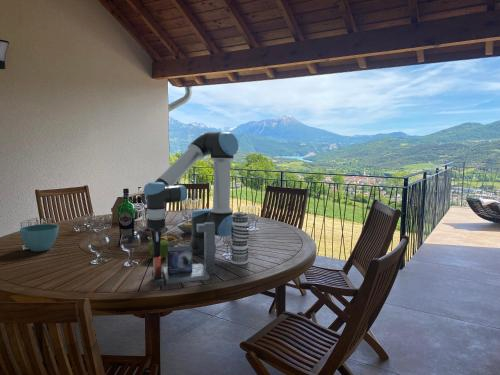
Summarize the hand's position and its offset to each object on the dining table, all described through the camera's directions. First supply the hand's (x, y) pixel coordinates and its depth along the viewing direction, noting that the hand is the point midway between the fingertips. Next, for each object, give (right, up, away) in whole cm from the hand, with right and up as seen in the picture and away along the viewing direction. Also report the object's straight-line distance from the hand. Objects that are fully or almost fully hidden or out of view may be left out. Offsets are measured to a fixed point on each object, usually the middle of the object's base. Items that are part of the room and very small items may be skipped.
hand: (156, 271), depth 151 cm
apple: (-6, 0, +26) cm, 27 cm away
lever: (+2, -2, -5) cm, 5 cm away
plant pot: (-74, +2, +38) cm, 83 cm away
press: (+12, -3, +3) cm, 12 cm away
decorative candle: (+36, -1, +23) cm, 42 cm away
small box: (+10, -1, +2) cm, 10 cm away
